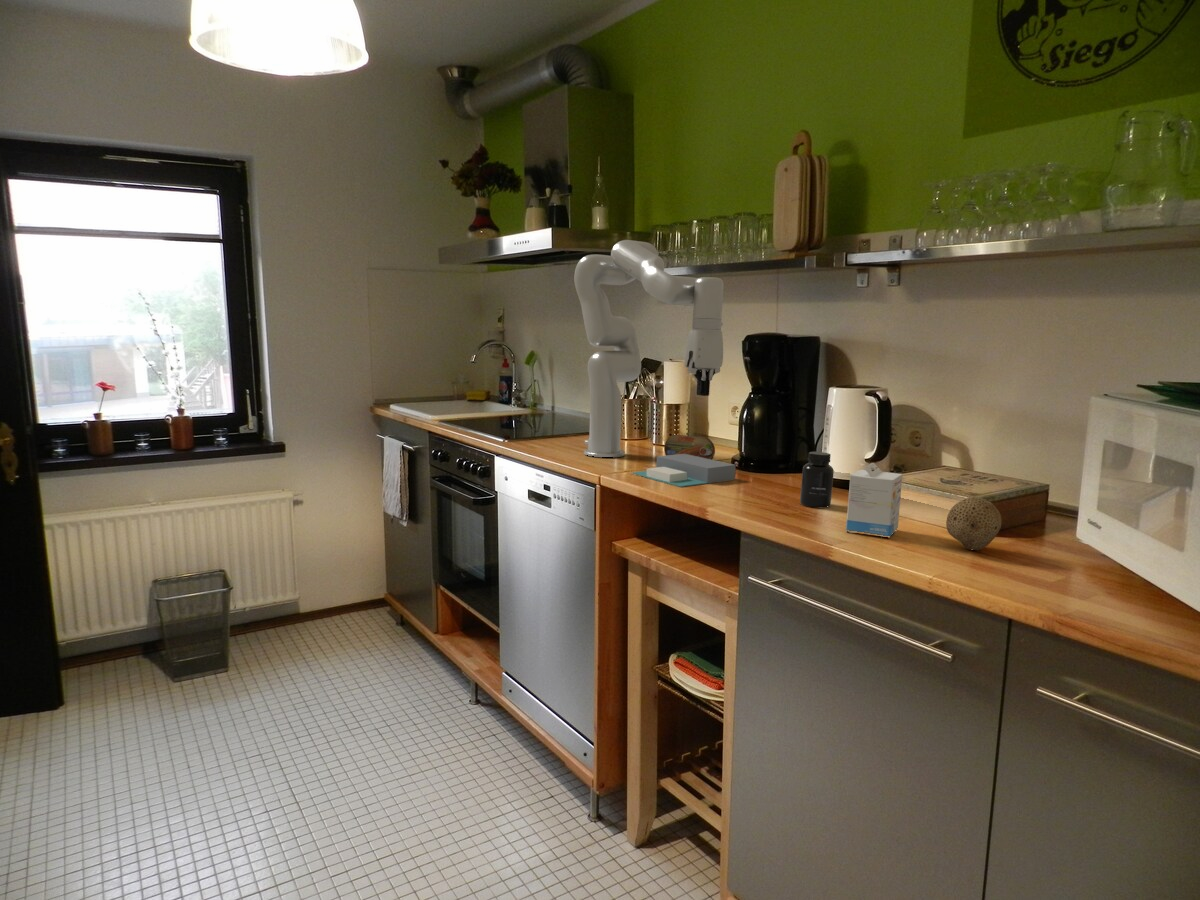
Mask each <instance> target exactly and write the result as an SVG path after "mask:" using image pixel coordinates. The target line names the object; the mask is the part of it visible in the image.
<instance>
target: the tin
mask: <svg viewBox="0 0 1200 900" xmlns="http://www.w3.org/2000/svg"><path fill="white" fill-rule="evenodd" d="M715 447H716V446H715V444H714V443H713V441H712V440H711V439H710V438H709V437H708V438H707V437H706V436H695V435H684V434H673V435H671V436H670V437H668V439H667V440H666V441H665V443H664V447H663V449H664V456H666V455H675V454H688V455H692V456H697V457H702V458H706V459H711V460H714V457H715V453H716V448H715Z"/></svg>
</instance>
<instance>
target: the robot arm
mask: <svg viewBox="0 0 1200 900" xmlns="http://www.w3.org/2000/svg"><path fill="white" fill-rule="evenodd" d="M573 278H574V279H573V281H574V287H575V290H576V294H577V297H578V300H579V302H580V307H581V313H582V318H583V323H584V328H585V334H586V337H587V342H588V343H589V345H591V346H593V347H594V348H613V350H600V351H597V352H594V353H593V354H592V355H591V356H590V357H589V359H588V362H587V375H588V381H589V390H590V391H589V393H590V394H589V432H588V433H589V438H587V439H585V440H584V445H587V448H586V449H584V450H583V454H584V455H585V456H587V455H588V457H592V456H594V458H602V457H613V458H621V457H624V456H625V455H626V451H625V450H624V449H621V435H622V434H621V431H622V430H621V429H622V393H621V390H620V388H619V385H618V383H627V382H633V381H636V380H637V379H638V377H639V376H640V375H641V370H642V360H641V354H640V348H639V344H638V343H639V342H638V338H637V333H636V329H635V326H634V325H633V323H632V322H631V320H630V319H628V318H627V317H624V316H619V315H618V316H617V315H616V316H615V315H613V314H612V312H611V307H610V302H609V298H608V297H607V295H606V292H605V291H604V289H602V287H601V285H610V286H623V285H627V284H629V283H631V282H633V281H635V280H637V281H639V282H641V284H642V287H643V289H644V290H645V292H646V293H647V294H648V295H649V296H651V297H653V298H654V299H656V300H657V301H660V302H661V303H663V304H666V305H669V306H684V307H686V306H687V307H693V308H692V324H691V325H692V327H691V330H689V331H688V335H687V341H686V347H685V356H684V366H685V368H688V369H687V373H689V374H691V375H693V376H694V379H695V380H696V382H697V383H696V395H697V396H703V397H705V396H706V397H707V396H708V397H709V396H710V387H711V381H712V380H713V377H714V376H715V375H716V374H720V372H721V367H722V366H723V362H724V339H723V332H722V327H723V325H724V324H723V321H722V317H723V315H722V314H723V302H724V301H723V300H724V299H723V298H724V286H725V285H724V281H723V279H722V278H720V277H711V276H708V277H707V276H702V277H689V276H681V275H672V274H670V273H668V272H666V271H665V261H664V260H663V258H662V257H661V256H660V255H659V252H658V250H657V248H656V247H655V245H654V244H651V243H650V242H648V241H647V242H646V241H641V240H639V241H638V240H631V239H623V240H620V241H618V242H616V243H615V244H614V245H613V247H612V249H611V252H610V255H608V254H607V255H606V254H587V255H585V256H583V257H582V258H581V259H579V261H578V263H577V264H576V266H575V269H574V275H573Z"/></svg>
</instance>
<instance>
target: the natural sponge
mask: <svg viewBox="0 0 1200 900" xmlns="http://www.w3.org/2000/svg"><path fill="white" fill-rule="evenodd" d="M946 516H947V517H946V520H945V521H946V522H945V523H946V526H945V527H946V530H947V533H948V534H949V535H950V536H951V537H952V538H954V539H955V540H956V541H958V542H960V543H961V544H962V545H963V546H964V547H965V549H967V548H968V549H967V550H969V549H973V550H977V551H980V550H982V549H984V548H986V547H987V546H988V545H989V544H990V543H992V541H993V540H994V539H995V538H996V536H997V535H998V533H999V532H1000V530H1001V527H1002V515H1001V513H1000V511H999V509H998V508H997V506H995V505H994V503H992V502H991V501H989V500H987V499H985V498H981V497H975V496H974V497H973V496H972V497H967V498H964V499H963V500H960V501H959V502H956V503H955V504H954V505H953V506H952V507H951V509H950V510H949V512H948V514H947V515H946Z"/></svg>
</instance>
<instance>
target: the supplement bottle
mask: <svg viewBox="0 0 1200 900" xmlns="http://www.w3.org/2000/svg"><path fill="white" fill-rule="evenodd" d="M807 456H808V457H807V461H808V463H806V464H805V465H803V467H802V475H801V485H800V496H799V497H800V498H799V502H800V504H801V505H802V506H804V505H805V506H804V507H808V506H810V507H809V508H814V507H827V506H829V507H830V506H831V504H832V495H833V483H834V473H835V472H834V471H835V470H834V468H833V466H831V465H830V463H831V453H828V452H824V451H810V452H808V455H807ZM827 508H828V507H827Z"/></svg>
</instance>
